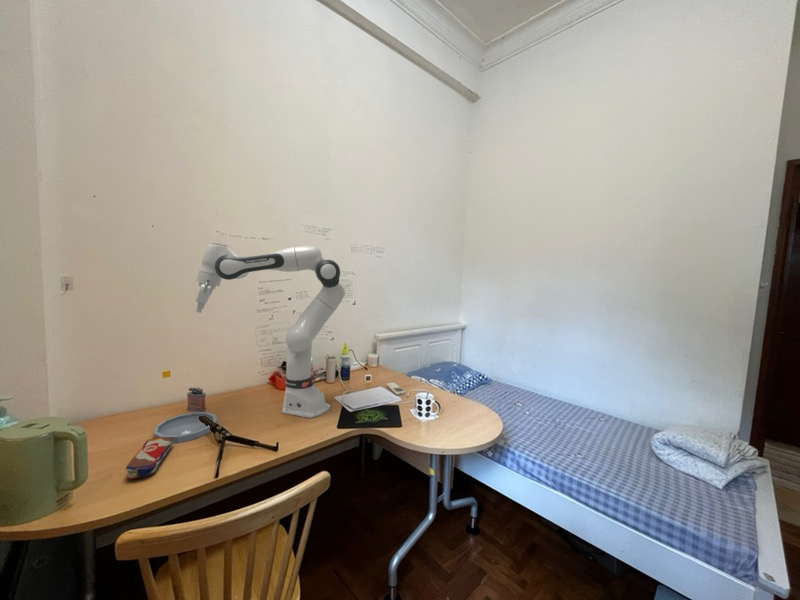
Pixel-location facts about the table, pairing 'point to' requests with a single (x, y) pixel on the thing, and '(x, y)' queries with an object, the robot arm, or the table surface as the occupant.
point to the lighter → (196, 400)
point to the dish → (184, 427)
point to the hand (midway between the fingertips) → (199, 310)
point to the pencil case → (148, 457)
